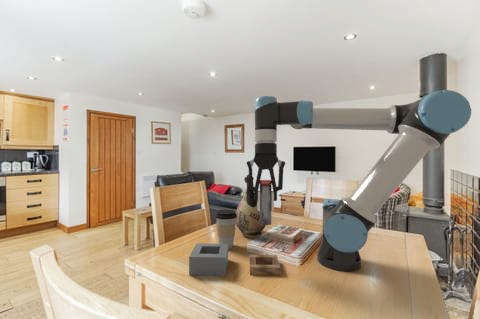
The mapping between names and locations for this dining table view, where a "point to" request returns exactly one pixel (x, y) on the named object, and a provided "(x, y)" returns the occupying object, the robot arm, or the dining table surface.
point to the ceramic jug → (249, 214)
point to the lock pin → (265, 202)
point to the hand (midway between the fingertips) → (265, 210)
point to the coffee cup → (226, 226)
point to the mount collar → (264, 269)
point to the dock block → (209, 259)
